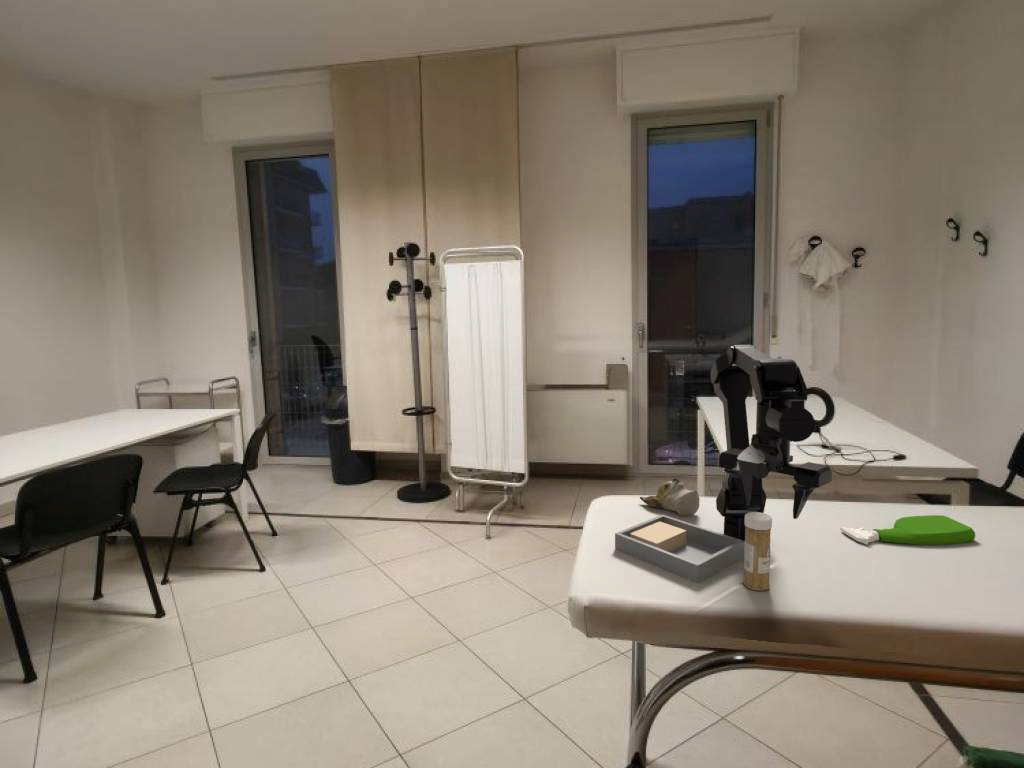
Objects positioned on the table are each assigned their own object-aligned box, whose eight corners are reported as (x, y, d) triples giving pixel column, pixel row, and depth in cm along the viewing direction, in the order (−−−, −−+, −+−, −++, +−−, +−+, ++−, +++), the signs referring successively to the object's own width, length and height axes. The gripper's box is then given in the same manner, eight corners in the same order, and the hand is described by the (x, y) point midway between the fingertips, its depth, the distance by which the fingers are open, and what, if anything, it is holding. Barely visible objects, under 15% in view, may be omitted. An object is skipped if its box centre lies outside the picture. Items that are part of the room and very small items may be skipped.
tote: (662, 531, 132) (662, 514, 132) (744, 560, 117) (744, 541, 116) (615, 551, 123) (614, 533, 122) (697, 585, 107) (697, 565, 106)
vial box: (659, 534, 129) (659, 521, 129) (686, 543, 124) (686, 530, 123) (630, 547, 123) (629, 533, 123) (656, 557, 118) (656, 543, 117)
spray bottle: (980, 544, 121) (867, 553, 120) (939, 524, 132) (835, 532, 131) (981, 531, 121) (868, 539, 119) (939, 512, 132) (835, 519, 130)
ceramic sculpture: (679, 488, 135) (636, 475, 148) (680, 524, 136) (638, 509, 149) (712, 480, 140) (668, 469, 153) (713, 515, 141) (669, 501, 154)
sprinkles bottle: (771, 593, 104) (773, 521, 102) (743, 590, 105) (745, 519, 103) (768, 581, 108) (770, 512, 106) (741, 578, 109) (743, 510, 107)
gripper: (701, 428, 107) (700, 509, 109) (805, 445, 93) (801, 538, 95) (734, 419, 114) (732, 496, 116) (835, 434, 100) (831, 521, 102)
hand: (770, 511), depth 107 cm, fingers open, 9 cm apart
